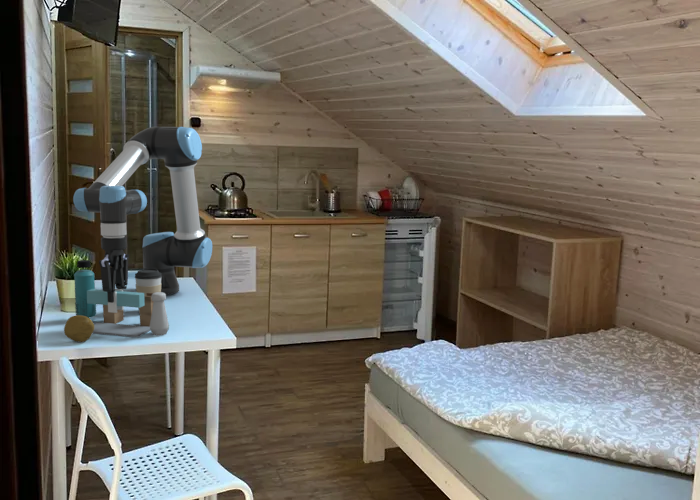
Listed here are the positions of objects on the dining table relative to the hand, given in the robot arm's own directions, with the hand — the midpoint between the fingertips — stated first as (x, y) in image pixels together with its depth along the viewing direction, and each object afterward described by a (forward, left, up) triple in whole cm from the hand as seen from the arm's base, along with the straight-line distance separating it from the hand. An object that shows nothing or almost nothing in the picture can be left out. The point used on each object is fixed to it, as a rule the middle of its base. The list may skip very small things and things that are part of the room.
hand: (116, 310), depth 220 cm
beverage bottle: (-8, -16, -7) cm, 19 cm away
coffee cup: (-24, -2, -7) cm, 25 cm away
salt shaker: (-1, +14, -7) cm, 16 cm away
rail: (0, 0, +2) cm, 2 cm away
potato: (+14, -4, -7) cm, 16 cm away
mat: (0, 0, -6) cm, 6 cm away
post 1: (-9, -7, -6) cm, 13 cm away
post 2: (-9, +6, -6) cm, 13 cm away
